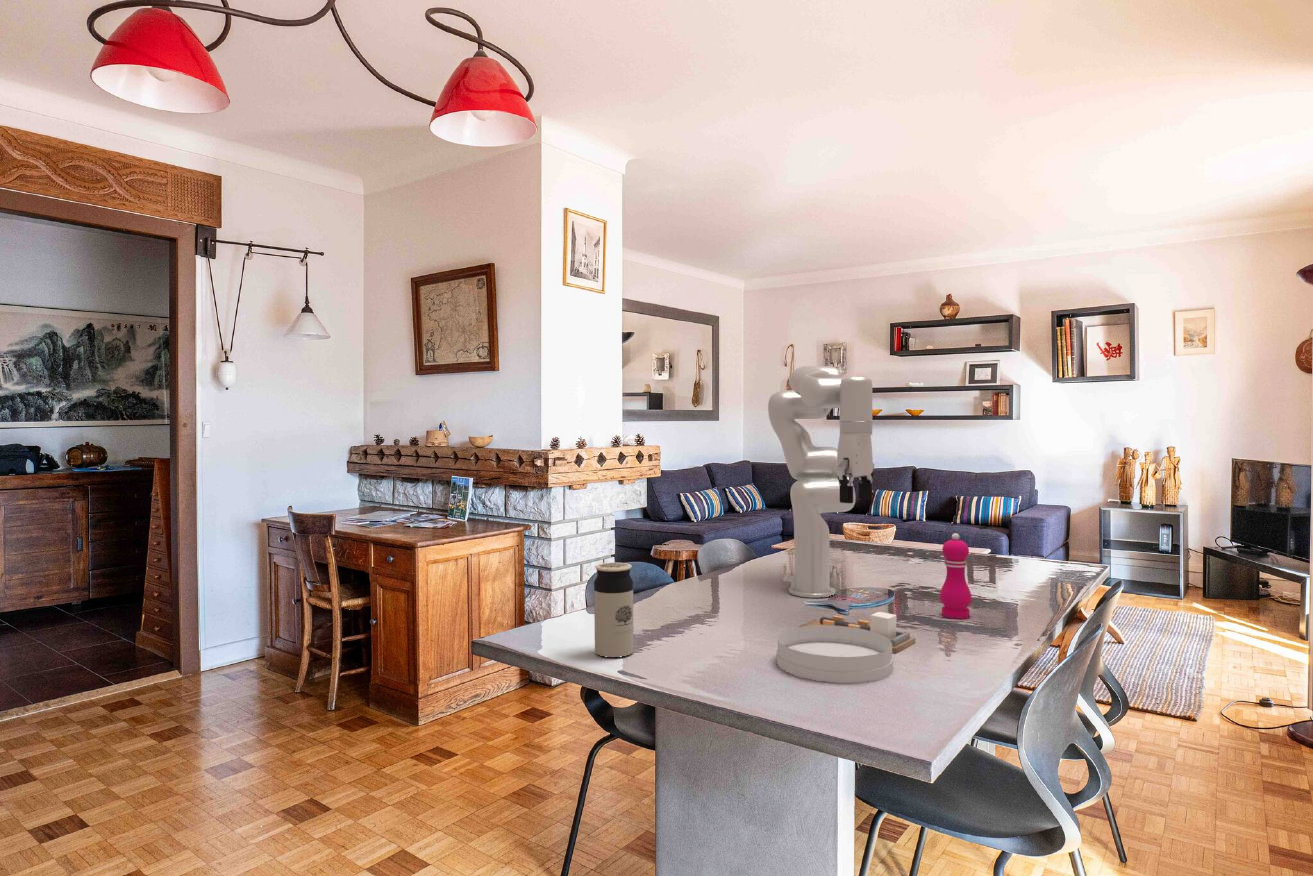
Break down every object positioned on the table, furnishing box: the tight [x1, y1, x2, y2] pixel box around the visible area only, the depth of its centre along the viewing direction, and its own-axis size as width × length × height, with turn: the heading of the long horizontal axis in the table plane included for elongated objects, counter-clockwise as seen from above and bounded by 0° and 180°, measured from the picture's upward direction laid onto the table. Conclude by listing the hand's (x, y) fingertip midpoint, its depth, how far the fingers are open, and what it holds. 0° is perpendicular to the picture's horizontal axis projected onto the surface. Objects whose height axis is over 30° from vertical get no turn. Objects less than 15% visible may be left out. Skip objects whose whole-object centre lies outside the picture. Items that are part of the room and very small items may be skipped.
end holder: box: [888, 630, 911, 646], centre depth 162 cm, size 7×8×1 cm
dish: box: [776, 625, 894, 684], centre depth 149 cm, size 22×22×5 cm
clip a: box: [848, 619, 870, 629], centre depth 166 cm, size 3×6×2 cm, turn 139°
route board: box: [794, 619, 916, 654], centre depth 167 cm, size 24×10×1 cm, turn 49°
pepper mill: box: [939, 533, 973, 620], centre depth 185 cm, size 7×7×20 cm
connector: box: [818, 611, 897, 639], centre depth 167 cm, size 17×4×5 cm, turn 49°
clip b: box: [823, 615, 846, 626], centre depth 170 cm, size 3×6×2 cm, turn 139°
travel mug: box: [593, 562, 635, 657], centre depth 157 cm, size 8×8×18 cm
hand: (856, 501), depth 182 cm, fingers open, 9 cm apart
